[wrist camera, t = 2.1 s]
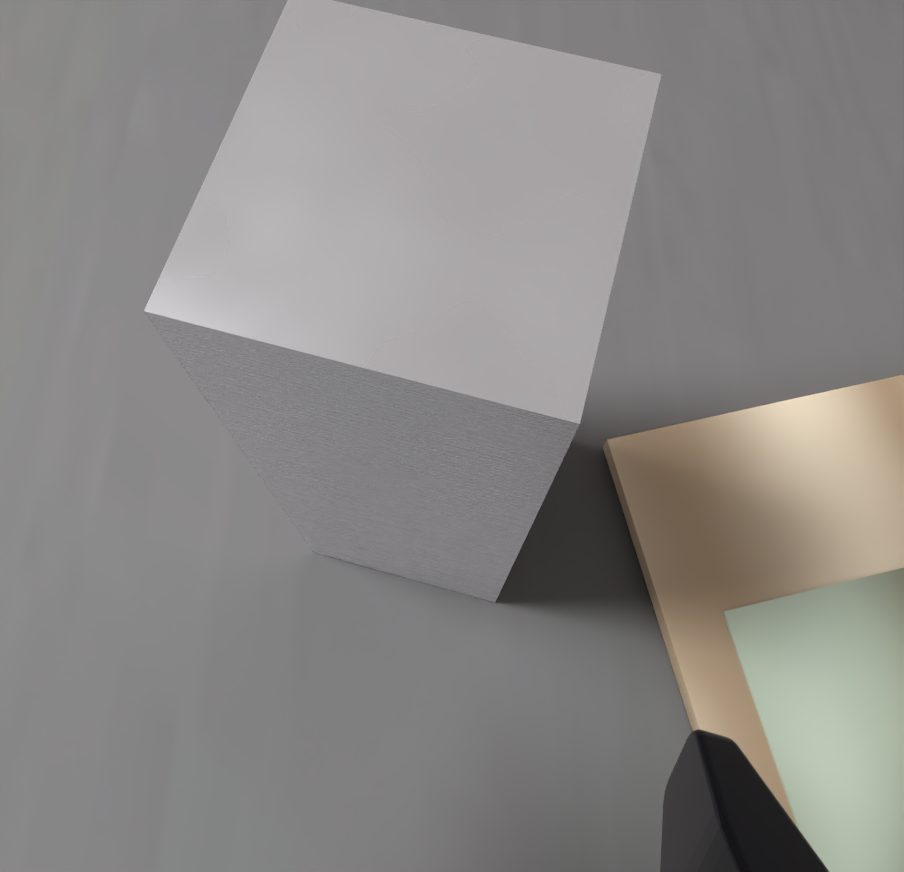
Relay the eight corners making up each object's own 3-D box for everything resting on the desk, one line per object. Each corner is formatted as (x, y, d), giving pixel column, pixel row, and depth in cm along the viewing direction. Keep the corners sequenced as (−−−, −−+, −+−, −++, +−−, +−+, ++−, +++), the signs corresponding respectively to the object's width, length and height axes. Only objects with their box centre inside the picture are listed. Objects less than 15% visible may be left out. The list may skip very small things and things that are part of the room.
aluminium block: (494, 602, 21) (580, 423, 9) (312, 551, 21) (143, 310, 9) (538, 429, 22) (661, 73, 10) (368, 385, 23) (291, -9, 11)
